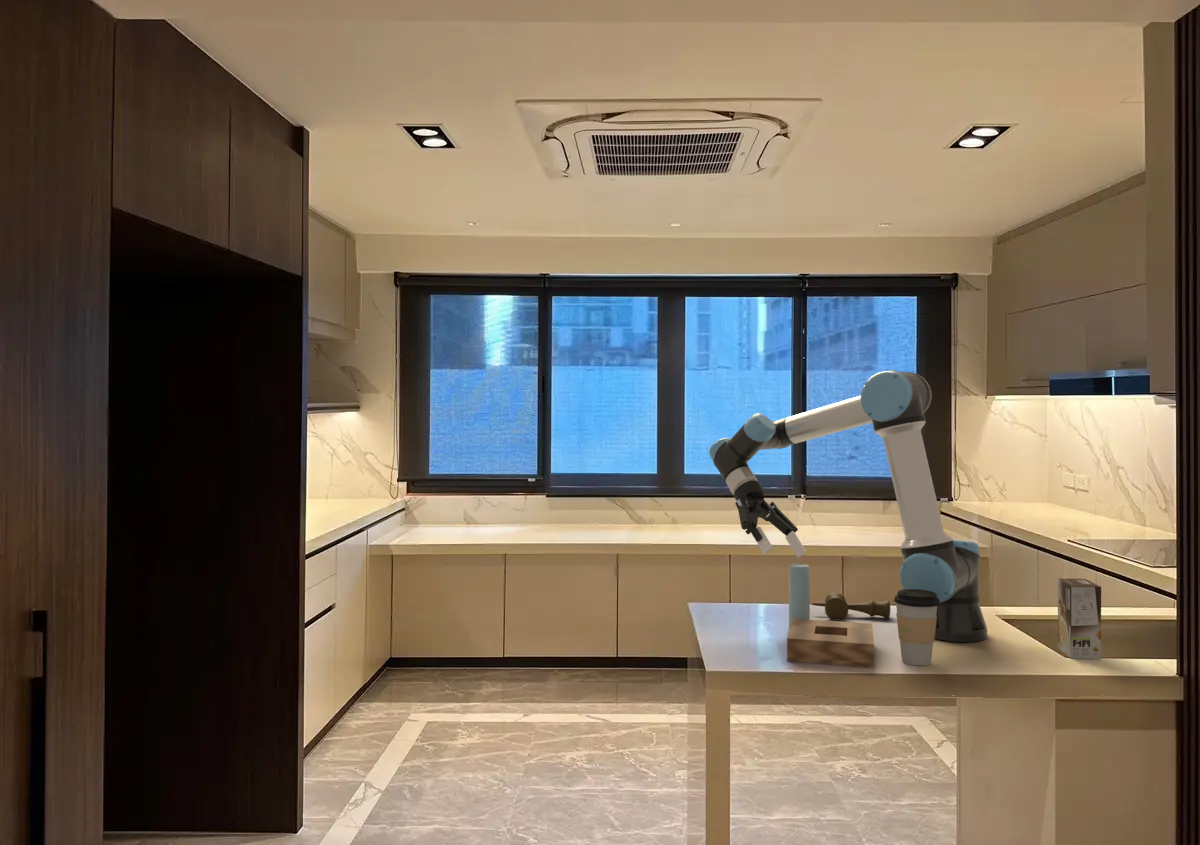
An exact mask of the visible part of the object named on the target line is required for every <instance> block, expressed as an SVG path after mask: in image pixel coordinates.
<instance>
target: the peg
mask: <svg viewBox="0 0 1200 845" xmlns="http://www.w3.org/2000/svg"><path fill="white" fill-rule="evenodd" d="M810 567H811V566H810V565H808V564H802V563H801V564H800V563H794V564H789V565H788V631H789V630H790V627H791V623H792V619H807V620H811V619H810V614H811V613H810V612H811V611H810V605H811V604H810V603H811V601H810V597H811V596H810V594H811V593H810V587H811V586H810V585H811V584H810V583H811V581H810V580H811V579H810V577H811V574H810V571H811V570H810Z"/></svg>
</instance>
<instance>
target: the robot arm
mask: <svg viewBox="0 0 1200 845" xmlns="http://www.w3.org/2000/svg"><path fill="white" fill-rule="evenodd" d="M932 396H933V394H932V389H931V386H930V384H929V383H928V381H927V380H926V379H925V378H924V377H923V376H922V375H919V374H917V373H915V372H912V371H911V372H910V371H909V372H908V371H898V370H896V369H895V370H893V369H891V370H885V371H879V372H877V373H875V374H873V375H872V376H870V377H869V378H868V379H867V380H866V381H865V383H864V385H863V386H862V388H861V391H860V395H859V396H856V397H855V396H854V397H851V398H847V399H845V400H841V401H839V402H835V403H831V404H828V405H825V406H821V407H817V408H814V409H811V410H807V411H805V412H801V413H798V414H797V413H796V414H795V415H790V416H787V417H784V418H783V417H782V418H781V419H778V420H777V419H776V420H773V421H772V420H771V419H770V418H769V417H768V416H766V415H764V414H762V413H761V412H760V413H759V412H757V413H754V414H752V416H751V417H750V418H748V419H747V420H746V421H745V422H744V424H742V426H741V427H740V428H739V429H738V430H737V432H736V433H735V434H734V435H733V436H732V437H731V438H729V437H723V438H720V439H718V440H717V441H715V442H713V444H712V445H711V446H710V447H709V448H710V449H709V452H708V453H709V457H710V459H711V461H712V462H713V463H712V464H713V466H714V467H715V468H716V469H717V471H718V472H719V474H720V475H721V478H723V480H724V482H725V483H726V485H727V487H728V489H729V492H731V494H732V495H733V497H734V499H735V506H736V508H737V511H738V517H739V521H740V527H741V529H742V530H745V534H747V535H750V534H751V535H752V537H753V538H754V540H755V542H756V543H757V546H759V549H760V550H761V552H762V553H763V554H764V555H767V554H768V553H769V552H770V551H771V550H772V549H773V548H774V547H773V545H772V544H771V542H770V540H769V539H768V537H767V535H766V534H765V532H764V531H763V529H762V527H761V526H758V519H763V521H765V522H769V523H770V524H771V525H773V526H774V528H776V529H777V530H779V532H781V533H782V534H783V535H785V537H784V538H785V540H786V541H787V543H788V545H789V546H790V548H791V549H792V551H793V553H794V554H795V555H796V557H797V558H799V559H800V558H801V557H802V556H803V555H805V553H807V549H806V548H805V546H804V545H803V543H802V541H801V540H800V539H799V537H798V535H797V534H796V532H798V531H799V529H798V527H797V526H796V525H795V524H794V523H793V521H791V520H790V518H788V517H787V516H786V514H785V513H784V512H782V511H781V510H780V509H779V508H778V506H777V505H776V504H775V502H773V501H771V502H770V503H768V502H767V501H766V500H765V496H766V494H765V493H766V492H765V490H764V488H763V486H762V485H761V482H759V481H758V479H757V477H756V475H755V474H754V472H753V471H752V470H751V468H750V467H749V464H748V462H749V461H750V460H752V459H753V457H755V456H756V454H757V453H758V452H759V451H761V450H771V449H775V450H776V449H778V450H781V449H786V448H788V447H790V446H792V445H795V444H799V443H802V442H806V441H811V440H813V439H818V438H821V437H824V436H828V435H832V434H836V433H840V432H844V431H846V430H850V429H854V428H858V427H862V426H865V425H869V424H872V426H873V431H874V434H876V435H878V436H880V437H881V438H882V440H883V444H884V448H885V454H886V458H887V463H888V466H889V470H890V476H891V480H892V483H893V484H892V485H893V489H894V494H895V499H896V502H897V507H898V512H899V517H900V521H901V526H902V530H903V534H904V541H903V542H902V543H901V545H900V546H899V547H900V550H901V556H902V561H903V562H902V564H901V566H900V569H899V581H900V584H901V586H902V588H903V590H904V589H920V590H927V591H931V592H934V593H936V595H937V598H938V599H939V600H940V605H938V606H937V613H936V616H937V620H936V629H935V638H934V640H938V641H939V640H940V641H946V642H955V643H956V642H957V643H974V642H975V643H977V642H980V641H984V640H986V639H987V638H988V627H987V624H986V620H985V618H984V615H983V612H982V609H981V605H980V558H981V554H980V547H979V544H978V543H977V542H974V541H971V540H970V541H969V540H962V539H961V540H960V539H954V538H953V537H952V536H950V535H949V534H947V533H945V531H944V526H943V521H942V518H941V513H940V509H939V505H938V499H937V495H936V492H935V486H934V483H933V479H932V474H931V470H930V465H929V461H928V457H927V452H926V447H925V444H924V440H923V435H922V429H923V427H924V426H925V424H926V423H927V422H926V417H925V412H927V410H928V409H929V408H930V404H931V402H932Z"/></svg>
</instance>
